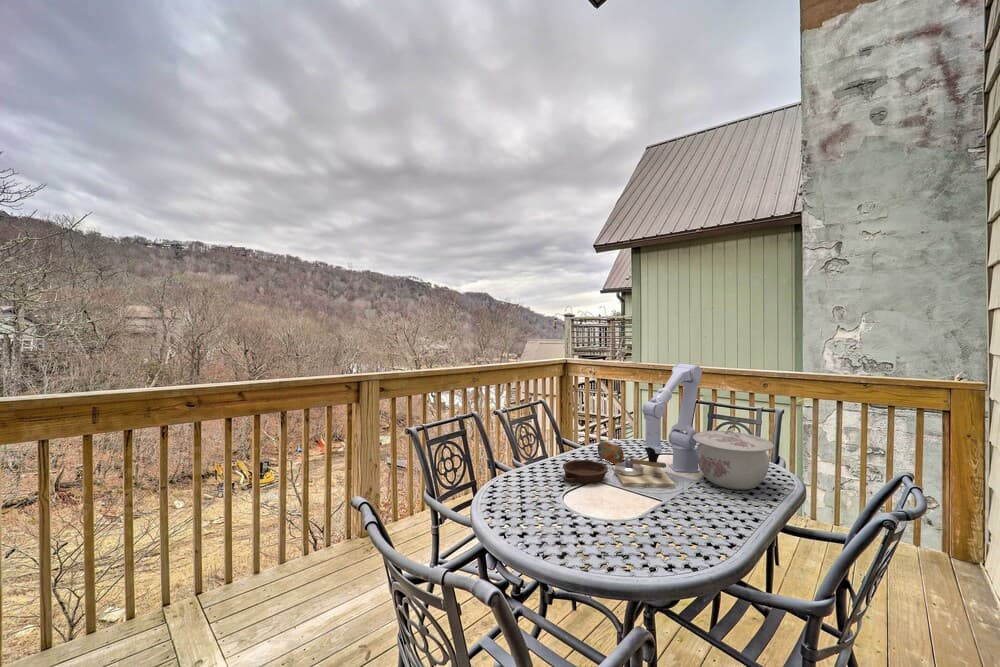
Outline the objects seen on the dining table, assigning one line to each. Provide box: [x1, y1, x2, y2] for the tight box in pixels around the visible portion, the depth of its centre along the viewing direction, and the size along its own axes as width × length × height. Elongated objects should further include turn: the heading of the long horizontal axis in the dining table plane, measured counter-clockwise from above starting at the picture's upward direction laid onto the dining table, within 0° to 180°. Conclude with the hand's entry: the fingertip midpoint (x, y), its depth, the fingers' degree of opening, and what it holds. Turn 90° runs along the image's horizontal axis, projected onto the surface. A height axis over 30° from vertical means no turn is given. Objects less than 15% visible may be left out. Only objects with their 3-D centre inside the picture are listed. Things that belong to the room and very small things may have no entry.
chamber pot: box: [693, 429, 775, 491], centre depth 165 cm, size 28×28×21 cm
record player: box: [612, 464, 676, 488], centre depth 171 cm, size 19×20×2 cm
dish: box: [562, 459, 609, 485], centre depth 171 cm, size 18×22×5 cm
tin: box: [597, 440, 625, 465], centre depth 191 cm, size 15×3×8 cm, turn 25°
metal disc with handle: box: [614, 457, 667, 476], centre depth 172 cm, size 20×11×5 cm, turn 64°
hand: (652, 466), depth 172 cm, fingers closed
